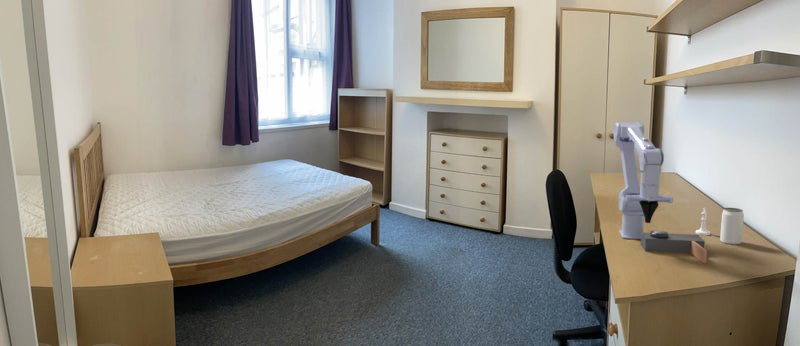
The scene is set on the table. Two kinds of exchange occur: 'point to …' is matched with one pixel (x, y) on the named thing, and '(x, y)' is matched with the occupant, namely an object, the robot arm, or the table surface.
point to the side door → (699, 252)
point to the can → (732, 226)
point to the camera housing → (669, 242)
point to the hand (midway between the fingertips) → (647, 222)
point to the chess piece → (703, 225)
